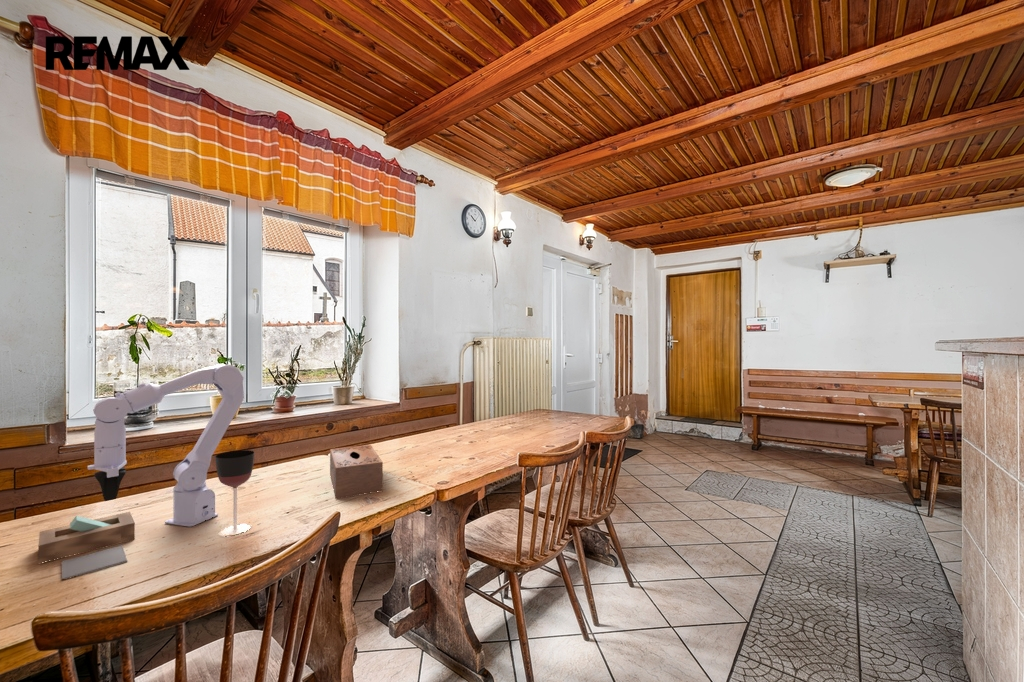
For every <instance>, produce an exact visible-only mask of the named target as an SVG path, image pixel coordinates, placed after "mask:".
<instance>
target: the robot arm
mask: <svg viewBox="0 0 1024 682" xmlns="http://www.w3.org/2000/svg"><path fill="white" fill-rule="evenodd" d="M243 382H244V376H243V374H242V373H241V371H240V369H239V368H238V367H236V366H235V365H232V364H225V363H217V364H215V365H212V366H205V367H203V368H199V369H195V370H193V371H191V372H189V373H186V374H184V375H180V376H178V377H176V378H173V379H171V380H168V381H166V382H163V383H160V384H154V383H151V382H149V383H146V384H145V383H144V382H142V383H139V384H137V386H138V387H135V388H132V389H130V390H126V391H123V392H122V393H121V392H119V391H118V392H116V393H114V396H115V397H114V396H110V397H104V398H102V399H101V400H98V402H97V403H96V404H95V405H94V408H93V414H94V415H95V416H94V417H96V418H95V421H94V426H95V428H94V430H93V432H94V434H93V435H94V436H93V438H94V439H93V440H94V442H93V443H94V447H93V450H94V451H93V453H94V461H93V464H90V465H87V470H89V471H90V470H91V471H92V470H97V471H96V472H94V478H95V480H96V481H98V483H99V485H100V489H101V493H102V497H103V501H104V502H108V501H109V502H110V501H113V500H116V499H117V497H118V494H119V489H120V485H121V482H122V480H123V479H124V476H125V475H126V473H127V470H126V468H125V465H127V464H128V462H127V461H128V460H127V459H126V457H127V453H126V452H127V450H126V447H127V443H126V442H127V440H126V439H127V433H126V428H127V426H126V425H125V417H126V416H127V414H135V413H137V412H139V411H142V410H144V409H148V408H149V407H152V406H154V405H157V404H159V403H161V402H162V400H163V398H164V397H165V396H168V395H170V394H173V393H176V392H179V391H182V390H185V389H188V388H190V387H193V386H197V385H214V386H215V387H216V388H217V390H218V392H219V394H220V396H221V400H220V402H219V404H218V405H217V407H216V408H215V410H214V412H213V414H212V416H211V418H210V419H209V421H208V423H207V424H206V426H205V427H204V429H203V431H202V433H201V434H200V436H199V438H198V440H197V441H196V443H195V445H194V446H193V448H192V450H191V451H190V452H188V454H186V456H185V458H184V459H183V460H182V461H181V462H179V463H178V464H176V466H175V467H174V469H173V473H172V476H173V478H174V480H175V481H177V483H176V484H175V486H174V487H173V489H172V490H173V492H172V493H173V497H172V498H173V504H172V505H173V507H172V508H173V510H172V511H173V512H172V514H173V516H172V518H169V519H166V520H165V521H164V523H165V524H169V525H176V526H182V527H189V528H191V527H194V526H195V525H198V524H200V523H203V522H205V520H206V521H208V520H210V519H212V517H213V518H215V517H217V516H219V513H216V494H215V492H214V490H213V489H210V488H209V487H208V486H207V482H206V481H207V477H208V470H209V467H210V466H211V460H212V457H213V455H214V454H215V451H216V449H217V447H218V446H219V444H220V442H221V441H222V439H223V437H224V435H225V433H226V432H227V430H228V428H229V426H230V424H231V423H232V420H233V419H234V417H235V415H236V413H237V412H238V410H239V408H240V407H241V405H242V402H244V399H245V393H244V384H243Z"/></svg>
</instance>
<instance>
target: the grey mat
mask: <svg viewBox="0 0 1024 682" xmlns="http://www.w3.org/2000/svg"><path fill="white" fill-rule="evenodd" d="M126 555H127V554H126V553H125V549H124V547H123V545H118V546H115V547H111V548H107V549H103V550H100V551H96V552H93V553H89V554H84V555H81V556H77V557H74V558H70V559H65V560H62V561H61V580H62V579H66V580H68V579H67V578H69V579H71V578H70V577H73V578H75V577H74V576H76V577H79V576H78V575H80V576H83V575H86V573H87V574H89V573H93V572H96V571H97V572H98V571H100V570H104V569H107V568H111V567H114V566H117V565H120V564H121V565H122V564H124V563H128V560H127V556H126ZM82 574H83V575H82Z"/></svg>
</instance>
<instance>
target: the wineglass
mask: <svg viewBox="0 0 1024 682" xmlns="http://www.w3.org/2000/svg"><path fill="white" fill-rule="evenodd" d="M214 458H215V467H216V468H215V469H216V474H217V478H218V481H219V482H220V483H221V484H222V485H225V486H227V487H230V488H232V489H233V492H232V493H233V496H232V497H233V500H232V502H233V505H232V506H233V508H232V510H233V516H232V517H233V521H232V522H233V524H232V525H233V526H232V525H229V526H230V527H228V526H227V527H228V528H226V527H224V528H225V529H224V530H223V531H221V533H222V534H223V535H224V534H226V535H229V534H235V533H236V534H238V533H241V532H244V533H246V531H247V530H248V531H250V530H251V529H252V528H251V527H250V525H251V524H250V525H247V524H248V523H239V524H240V525H237V524H238V487H239V486H241V485H244V484H245V483H246V482H247V481H249V480H250V478H251V476H252V472H253V468H254V463H255V461H254V460H255V451H253V450H247V449H246V450H245V449H242V450H241V449H240V450H239V449H238V450H231V451H230V450H229V451H225V452H222V453H218V454H216V455H215V457H214ZM250 528H251V529H250ZM249 529H250V530H249ZM248 531H247V532H248Z"/></svg>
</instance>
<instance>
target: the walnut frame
mask: <svg viewBox="0 0 1024 682" xmlns="http://www.w3.org/2000/svg"><path fill="white" fill-rule="evenodd" d="M94 520H96V521H100V522H104V523H108V524H112V525H109V526H104V527H100V528H96V529H92V530H87V531H83V532H81V531H77V530H73V529H70V524H68V525H64V526H59V527H55V528H50V529H46V530H42V531H39V535H38V554H37V555H38V561H37V563H38V565H40V564H39V563H42V562H45V561H49V560H54V559H57V558H61V557H65V556H69V555H73V556H75V555H74V554H77V555H79V554H78V553H81V554H85V553H87V552H91V551H95V550H99V549H103V547H104V548H106V546H108V547H110V546H115V545H119V544H122V542H123V543H126V542H130V540H131V541H133V540H134V539H136V537H135V535H136V534H135V533H136V529H135V527H136V524H135V520H134V518H133V515H132V513H131V511H128V512H122V513H118V514H114V515H109V516H104V517H100V518H95V519H94ZM114 544H115V545H114ZM84 552H85V553H84ZM69 557H70V556H69ZM65 558H66V557H65ZM61 559H62V558H61ZM54 561H55V560H54ZM42 564H43V563H42Z"/></svg>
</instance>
